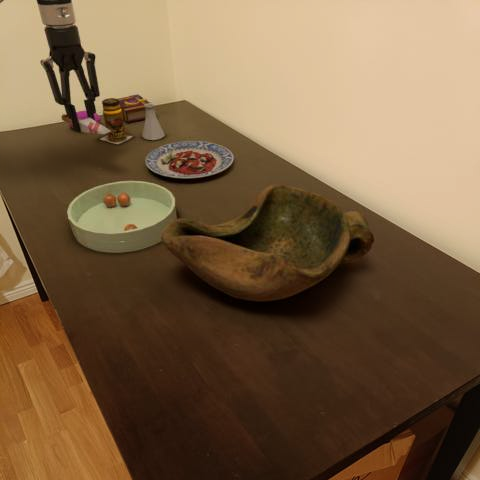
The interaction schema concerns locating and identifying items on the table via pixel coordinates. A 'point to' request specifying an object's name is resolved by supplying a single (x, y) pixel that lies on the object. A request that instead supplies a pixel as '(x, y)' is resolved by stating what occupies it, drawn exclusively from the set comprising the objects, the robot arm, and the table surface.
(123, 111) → the decorative book
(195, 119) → the table surface
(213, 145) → the ceramic plate
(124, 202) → the bead
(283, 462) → the table surface
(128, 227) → the bead
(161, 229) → the bowl
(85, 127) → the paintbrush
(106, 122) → the condiment
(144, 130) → the flask
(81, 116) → the donut
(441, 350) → the table surface
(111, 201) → the bead
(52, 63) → the robot arm
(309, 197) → the bowl
